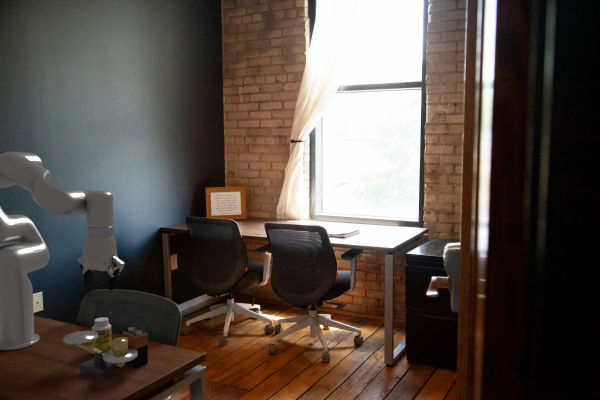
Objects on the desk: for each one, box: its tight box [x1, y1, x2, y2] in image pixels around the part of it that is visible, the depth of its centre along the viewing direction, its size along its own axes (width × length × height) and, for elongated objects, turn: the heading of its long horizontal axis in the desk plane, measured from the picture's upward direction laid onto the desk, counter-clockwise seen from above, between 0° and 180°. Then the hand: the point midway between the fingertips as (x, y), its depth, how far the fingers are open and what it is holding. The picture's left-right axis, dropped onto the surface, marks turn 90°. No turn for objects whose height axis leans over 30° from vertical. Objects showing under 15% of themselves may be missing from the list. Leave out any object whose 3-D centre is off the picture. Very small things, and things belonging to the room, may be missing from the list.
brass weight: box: [111, 336, 128, 357], centre depth 131 cm, size 4×4×4 cm
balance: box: [62, 330, 138, 379], centre depth 134 cm, size 23×9×9 cm, turn 69°
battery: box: [122, 326, 149, 368], centre depth 139 cm, size 4×7×10 cm, turn 52°
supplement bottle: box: [91, 317, 112, 352], centre depth 147 cm, size 6×6×10 cm
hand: (101, 287), depth 146 cm, fingers open, 9 cm apart
